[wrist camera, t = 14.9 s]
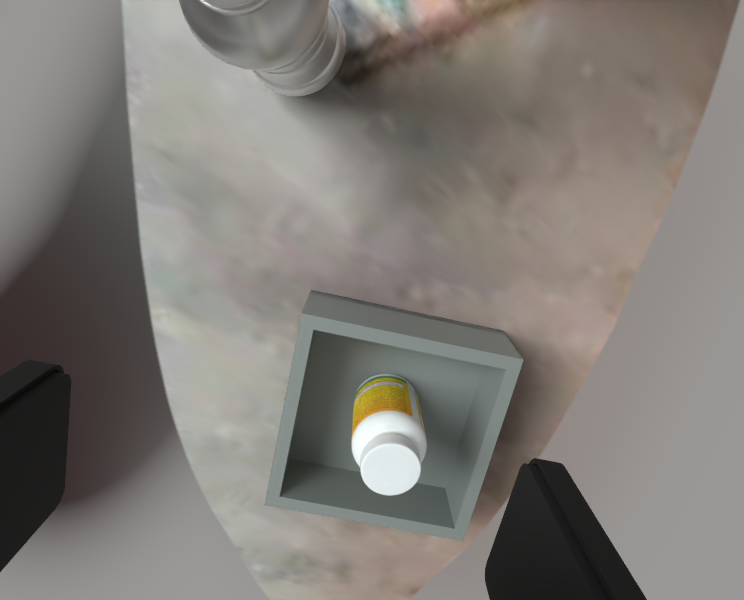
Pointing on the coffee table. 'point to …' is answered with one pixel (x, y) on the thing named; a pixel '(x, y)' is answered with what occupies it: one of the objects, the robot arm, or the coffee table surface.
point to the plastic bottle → (272, 39)
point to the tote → (437, 403)
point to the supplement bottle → (388, 434)
